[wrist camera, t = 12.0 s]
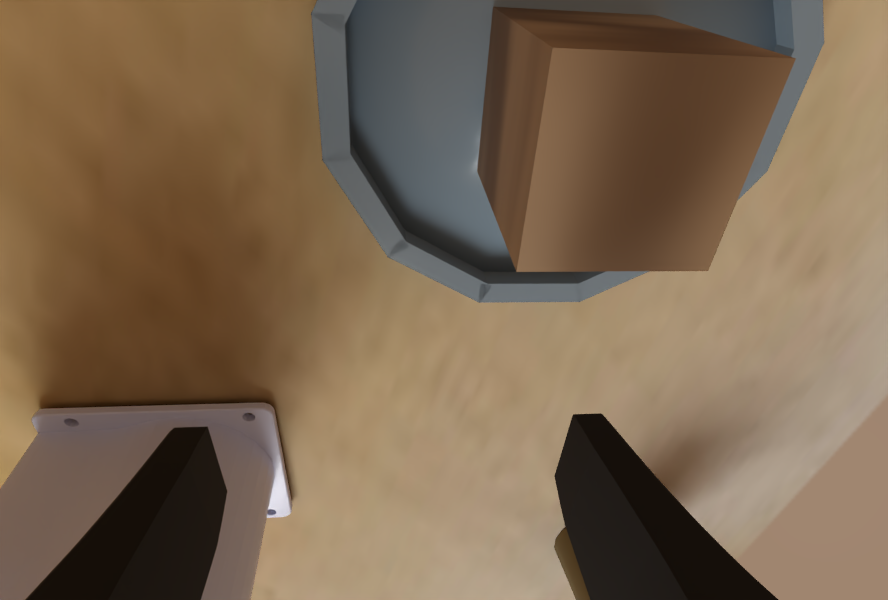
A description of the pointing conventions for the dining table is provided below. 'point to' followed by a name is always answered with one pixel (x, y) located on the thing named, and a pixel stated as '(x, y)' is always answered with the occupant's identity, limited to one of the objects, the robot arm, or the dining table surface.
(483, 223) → the plate
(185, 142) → the dining table surface
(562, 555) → the cork
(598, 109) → the block
